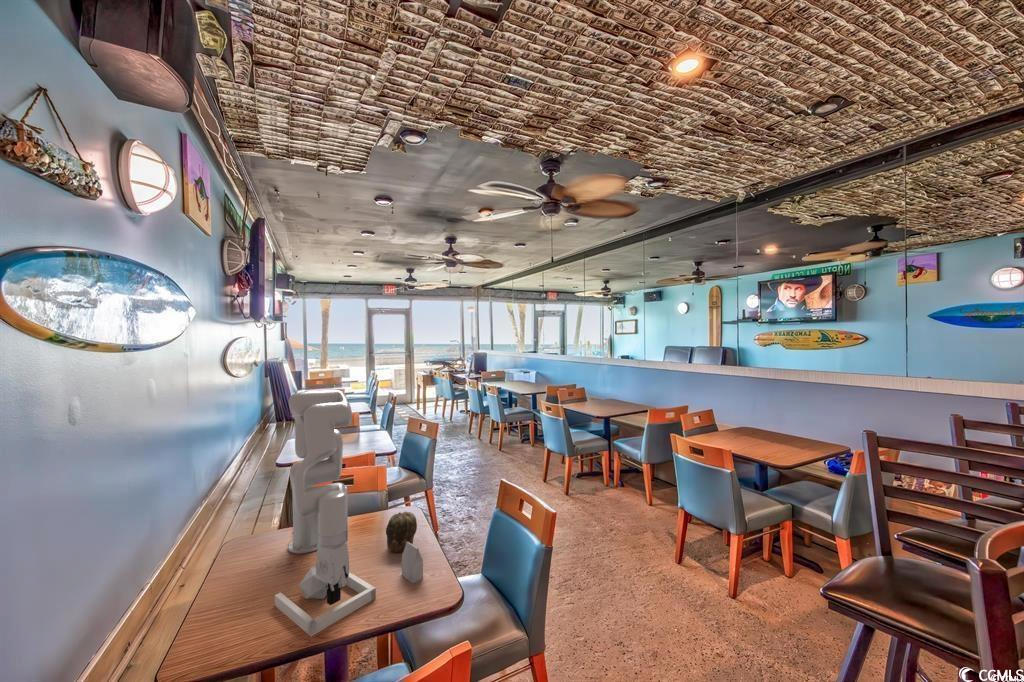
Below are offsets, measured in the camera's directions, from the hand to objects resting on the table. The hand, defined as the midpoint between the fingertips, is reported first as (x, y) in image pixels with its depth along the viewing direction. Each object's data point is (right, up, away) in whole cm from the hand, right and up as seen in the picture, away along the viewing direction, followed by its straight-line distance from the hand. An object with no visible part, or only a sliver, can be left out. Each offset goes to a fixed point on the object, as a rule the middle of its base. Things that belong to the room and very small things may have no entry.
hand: (333, 601), depth 114 cm
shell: (+10, -2, +34) cm, 35 cm away
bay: (-3, -2, +3) cm, 5 cm away
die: (-7, -2, +5) cm, 9 cm away
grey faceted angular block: (+19, -2, +15) cm, 24 cm away
